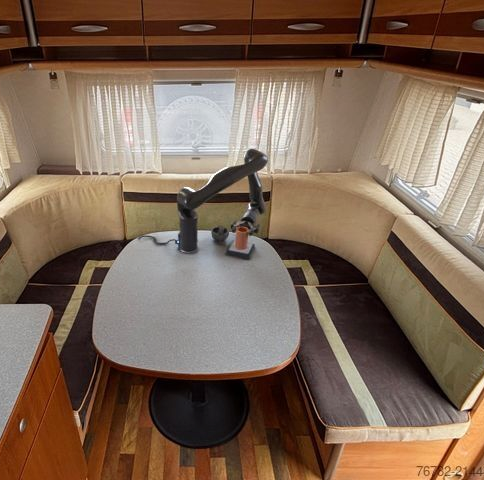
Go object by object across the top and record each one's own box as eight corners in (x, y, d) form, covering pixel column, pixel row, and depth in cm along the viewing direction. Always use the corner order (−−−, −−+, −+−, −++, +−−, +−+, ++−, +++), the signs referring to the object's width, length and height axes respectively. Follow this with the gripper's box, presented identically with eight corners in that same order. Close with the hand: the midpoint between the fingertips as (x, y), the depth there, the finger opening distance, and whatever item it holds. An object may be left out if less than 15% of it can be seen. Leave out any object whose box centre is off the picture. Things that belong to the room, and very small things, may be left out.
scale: (226, 254, 182) (226, 249, 181) (232, 243, 192) (232, 239, 191) (248, 259, 179) (249, 254, 177) (254, 248, 188) (255, 243, 187)
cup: (233, 248, 182) (234, 231, 177) (236, 242, 188) (238, 225, 183) (245, 250, 180) (247, 233, 175) (248, 244, 186) (250, 227, 181)
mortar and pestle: (210, 237, 198) (211, 217, 192) (227, 237, 199) (228, 217, 193) (211, 247, 189) (212, 227, 183) (229, 247, 189) (230, 227, 183)
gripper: (237, 211, 192) (228, 223, 179) (263, 215, 188) (256, 228, 174) (236, 223, 196) (227, 236, 183) (261, 228, 191) (254, 242, 178)
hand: (241, 232), depth 179 cm, fingers open, 8 cm apart
